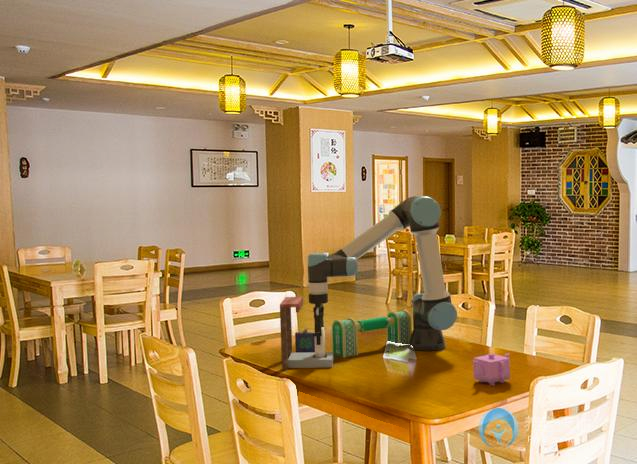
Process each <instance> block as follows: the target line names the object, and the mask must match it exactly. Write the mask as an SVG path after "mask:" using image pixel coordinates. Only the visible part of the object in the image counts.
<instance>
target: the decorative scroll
mask: <svg viewBox="0 0 637 464" xmlns="http://www.w3.org/2000/svg"><path fill="white" fill-rule="evenodd" d="M411 316H412V315H410V313H409V311H408V310H406V309H401V310H399V311H397V312H396V311H389V312H388V313H387V315H386V316H382V317H375V318H374V317H373V318H368V319H367V318H366V319H360V320H357V321H356V320H355V319H354V318H352V317H348V318H346V319H345V320H344V319H343V320H340V319H334V320H333V322H332V325H331V341H332V342H331V343H332V345H331V347H332V350H331V351H332V352H334V356H338V357H341V358H346V357H351V356H359V341H358V340H359V339H358V334H359V333H358V332H360V333H362V332H368V331H369V332H370V331H375V330H376V331H377V330H381V329H386V342H387V341H391V342H395V343H402V344H410V338H411V335H412V332H413V329H412V328H413V326H412V317H411Z"/></svg>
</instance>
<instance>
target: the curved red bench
mask: <svg viewBox="0 0 637 464" xmlns="http://www.w3.org/2000/svg"><path fill="white" fill-rule="evenodd" d="M303 305H304V296H285V297H284V298H283V300H282V301H281V302H280V304H279V316H280V317H279V318H280V321H279V322H280V346H281V347H280V349H281V371H287V370H288V369H289V368H288V359H289V357H290V355H291V353H293V333H292V331H293V330H292V327H293V326H292V308H295V313H299V312H300V311H301V309H302V307H303Z"/></svg>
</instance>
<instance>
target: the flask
mask: <svg viewBox="0 0 637 464" xmlns="http://www.w3.org/2000/svg"><path fill="white" fill-rule="evenodd" d="M308 330H309V329H308V328H307V327H304V330H299V331H296V332H295V333H294V339H295V342H294V343H295V347H294V348H295V353H307V352H315V337H313V335H314V331H308Z"/></svg>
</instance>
